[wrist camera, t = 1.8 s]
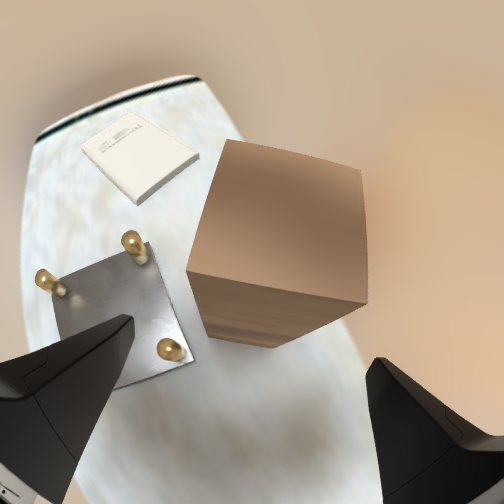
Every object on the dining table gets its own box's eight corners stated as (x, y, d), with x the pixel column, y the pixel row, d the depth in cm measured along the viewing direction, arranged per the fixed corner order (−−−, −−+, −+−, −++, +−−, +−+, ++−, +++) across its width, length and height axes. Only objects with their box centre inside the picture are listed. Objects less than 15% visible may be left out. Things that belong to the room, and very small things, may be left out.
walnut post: (273, 348, 20) (367, 303, 7) (207, 336, 19) (185, 270, 7) (282, 287, 22) (360, 170, 9) (220, 275, 22) (226, 139, 9)
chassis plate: (194, 360, 19) (188, 358, 15) (84, 398, 16) (59, 400, 12) (151, 247, 22) (139, 222, 18) (55, 286, 19) (31, 270, 15)
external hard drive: (139, 210, 24) (83, 154, 26) (199, 162, 27) (135, 118, 29) (135, 200, 22) (79, 145, 25) (199, 151, 26) (133, 109, 28)
